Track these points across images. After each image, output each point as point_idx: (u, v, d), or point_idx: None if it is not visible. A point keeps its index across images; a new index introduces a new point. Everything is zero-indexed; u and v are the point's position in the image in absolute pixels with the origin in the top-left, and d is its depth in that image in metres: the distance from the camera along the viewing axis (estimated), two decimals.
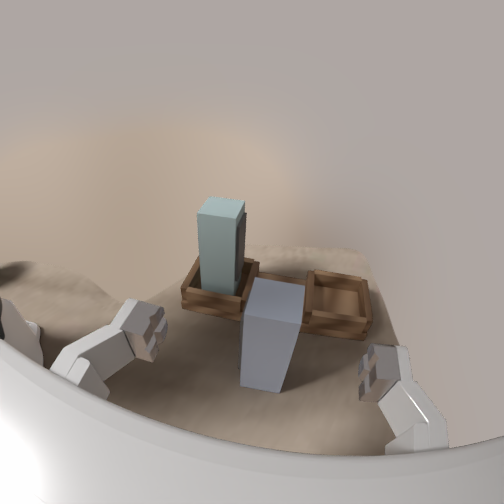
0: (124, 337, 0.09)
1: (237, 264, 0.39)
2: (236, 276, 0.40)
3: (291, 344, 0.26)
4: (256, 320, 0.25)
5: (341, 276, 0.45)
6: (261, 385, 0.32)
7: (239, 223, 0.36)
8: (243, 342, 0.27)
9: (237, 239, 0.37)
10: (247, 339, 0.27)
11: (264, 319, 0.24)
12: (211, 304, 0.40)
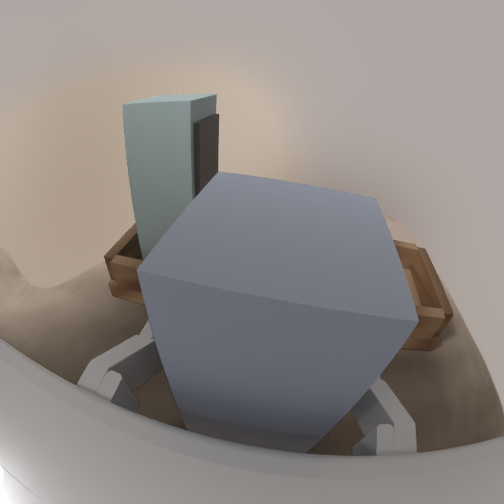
0: (155, 347, 0.09)
1: None
2: None
3: (345, 401, 0.06)
4: (198, 306, 0.05)
5: None
6: None
7: (201, 120, 0.17)
8: (172, 384, 0.07)
9: (196, 150, 0.17)
10: (182, 378, 0.07)
11: (233, 301, 0.05)
12: None
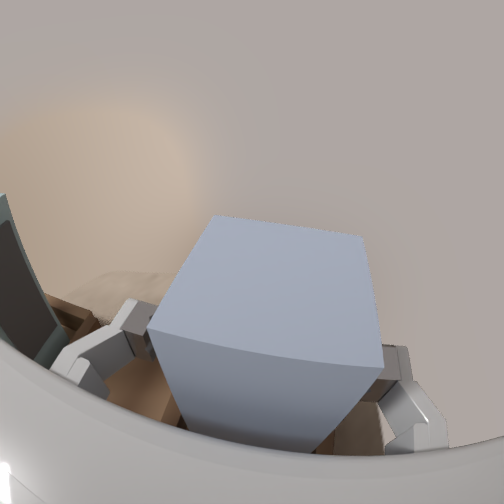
0: (124, 337, 0.09)
1: (8, 335, 0.12)
2: None
3: (330, 421, 0.07)
4: (198, 355, 0.06)
5: None
6: None
7: None
8: (180, 407, 0.08)
9: None
10: (188, 402, 0.08)
11: (226, 353, 0.06)
12: None
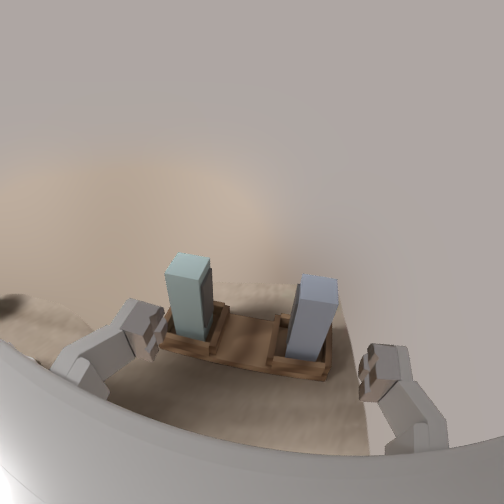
0: (124, 337, 0.09)
1: (204, 314, 0.42)
2: (205, 324, 0.43)
3: (330, 320, 0.37)
4: (308, 303, 0.36)
5: None
6: (302, 356, 0.43)
7: (203, 281, 0.39)
8: (295, 320, 0.38)
9: (202, 295, 0.39)
10: (299, 317, 0.38)
11: (313, 302, 0.35)
12: (184, 347, 0.43)
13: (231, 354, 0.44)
